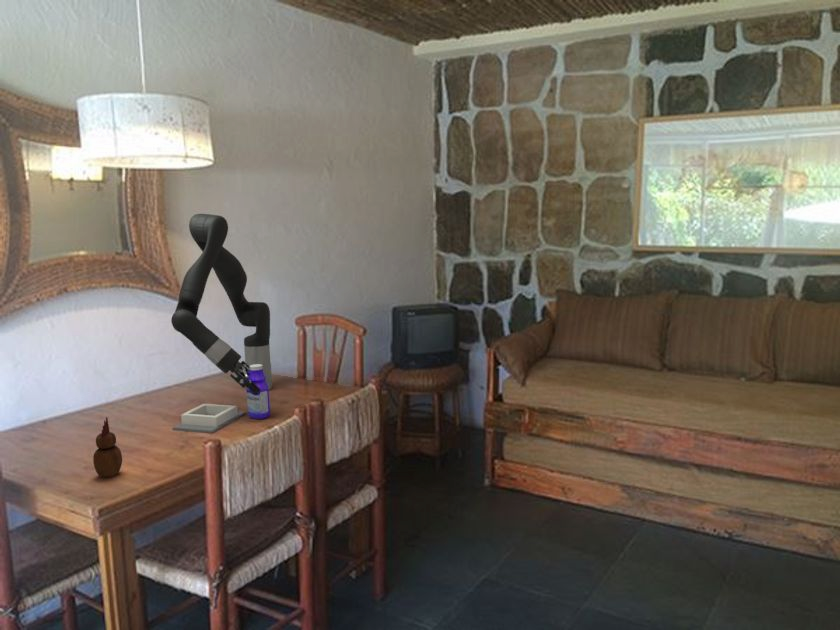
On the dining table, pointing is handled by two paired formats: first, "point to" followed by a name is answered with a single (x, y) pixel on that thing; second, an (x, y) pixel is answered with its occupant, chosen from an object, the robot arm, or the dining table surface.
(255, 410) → the bottle
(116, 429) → the dining table surface
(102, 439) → the wooden figurine
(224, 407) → the bottle stand
